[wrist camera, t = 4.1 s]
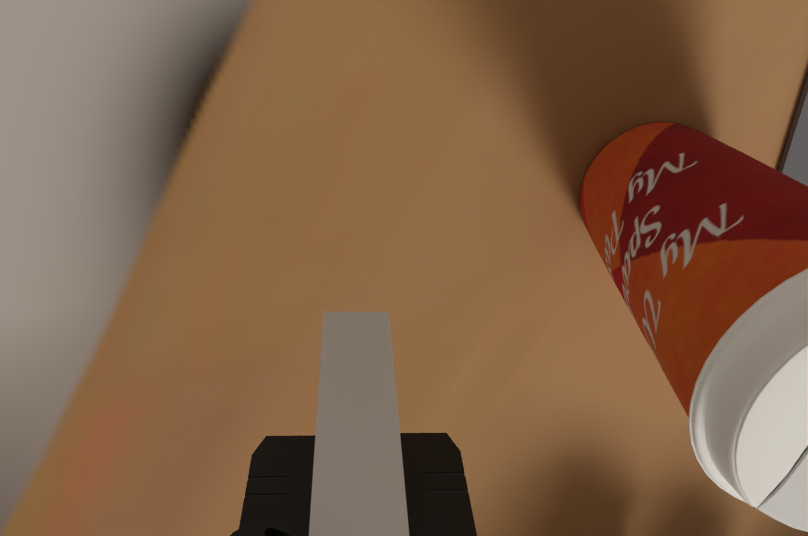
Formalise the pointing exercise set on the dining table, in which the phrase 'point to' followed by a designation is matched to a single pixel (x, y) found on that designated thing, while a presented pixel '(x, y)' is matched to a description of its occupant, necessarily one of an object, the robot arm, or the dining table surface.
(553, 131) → the dining table surface
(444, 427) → the dining table surface
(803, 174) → the mat
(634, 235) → the paper cup
